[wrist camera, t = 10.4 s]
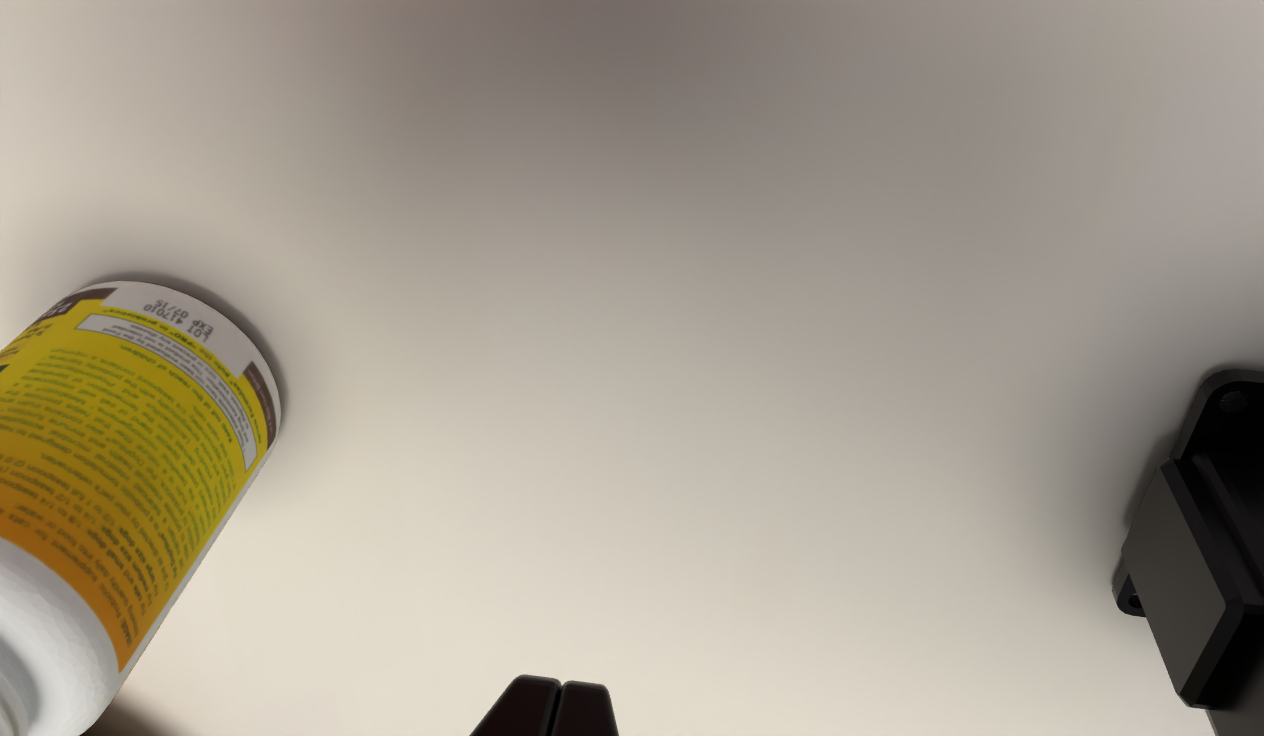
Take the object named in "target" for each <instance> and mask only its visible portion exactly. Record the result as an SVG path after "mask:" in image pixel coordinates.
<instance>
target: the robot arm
mask: <svg viewBox="0 0 1264 736" xmlns="http://www.w3.org/2000/svg"><path fill="white" fill-rule="evenodd" d="M1235 391H1240V392H1239V394H1238V395H1237V396H1236V397H1234V398H1232V399H1230V400H1225V401H1221V399H1222V398H1223V397H1224V395H1226V394H1228V393H1230V392H1235ZM1121 553H1122V556H1123V559H1124V560H1123V563H1122V565H1121V567H1120V569H1119V572H1118V574H1117V576H1116V578H1115V581H1114V583H1113V586H1112V593H1113V595H1114V598H1115V601H1116V603H1117V606H1118V608H1119V609H1120V610H1121V611H1122V612H1124V613H1125V614H1129V615H1132V616H1140V617H1147V620H1148V623H1149V625H1150V628H1151V630H1152V633H1153V635H1154V638H1155V640H1156V643H1157V646H1158V648H1159V651H1160V653H1161V656H1162V658H1163V661H1164V663H1165V666H1166V668H1167V671H1168V674H1169V676H1170V679H1171V681H1172V684H1173V686H1174V689H1175V691H1176V693H1177V695H1178V696H1179V697H1180V699H1181V700H1182V701H1183V702H1184V703H1185V705H1186V706H1188V707H1192V708H1200V709H1205V711H1206V713H1207V716H1208V718H1209V721H1210V723H1211V725H1212V728H1213V730H1214V733H1215V735H1216V736H1264V372H1259V371H1249V370H1239V369H1230V370H1223V371H1220V372H1217V373H1215V374H1213V375H1212V376H1210V377H1209V378H1208V379H1206V380H1205V382H1204V383H1203V384H1202V386H1201V387H1200V389H1199V392H1198V394H1197V396H1196V398H1195V401H1194V403H1193V405H1192V407H1191V410H1190V412H1189V414H1188V416H1187V419H1186V421H1185V423H1184V425H1183V428H1182V430H1181V432H1180V434H1179V437H1178V439H1177V441H1176V443H1175V446H1174V448H1173V450H1172V452H1171V455H1170V457H1169V459H1166V460H1165V461H1164V462H1163V463H1162V464H1161V465H1160V466H1158V468H1157V469H1156V471H1155V474H1154V476H1153V478H1152V481H1151V483H1150V485H1149V487H1148V490H1147V492H1146V494H1145V497H1144V499H1143V501H1142V503H1141V506H1140V508H1139V510H1138V512H1137V515H1136V517H1135V519H1134V522H1133V524H1132V526H1131V528H1130V531H1129V533H1128V535H1127V538H1126V540H1125V542H1124V544H1123V547H1122V550H1121ZM1136 593H1137V595H1133V594H1136ZM470 736H619V734H618V729H617V725H616V721H615V716H614V712H613V707H612V703H611V699H610V695H609V691H608V689H607V688H606V687H605V686H604V685H602V684H595V683H587V682H580V681H572V680H571V681H567V682H565V683H564V684H563V686H562V685H561V682H560V681H559V680H558V679H555V678H549V677H541V676H533V675H520V676H518V677H516V678H515V679H514V680H513V681H512V682H511V683H510V685H509V686H508V687H507V688H506V690H505V691H504V692H503V693H502V695H501V696H500V697H499V699H498V700H497V701H496V702H495V704H494V705H493V706H492V708H491V709H490V710H489V711H488V713H487V714H486V715H485V716H484V718H483V719H482V720H481V722H480V723H479V724H478V725H477V727H476V728H475V729H474V731H473V732H472V733H471V734H470Z"/></svg>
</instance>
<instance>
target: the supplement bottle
mask: <svg viewBox="0 0 1264 736" xmlns="http://www.w3.org/2000/svg"><path fill="white" fill-rule="evenodd" d="M280 419H281V408H280V400H279V395H278V390H277V387H276V384H275V381H274V378H273V376H272V373H271V371H270V369H269V367H268V365H267V363H266V362H265V360H264V358H263V357H262V355H261V353H260V352H259V351H258V349H257V348H256V347H255V345H254V344H253V343H252V342H251V341H250V339H249V338H248V337H247V336H246V335H245V334H244V333H243V332H242V331H241V330H240V329H239V328H238V327H236V326H235V325H234V324H233V323H232V322H231V321H230V320H228V319H227V318H226V317H224V316H223V315H222V314H220V313H219V312H218V311H216V310H215V309H213V308H211V307H210V306H208V305H206V304H204V303H203V302H201V301H199V300H197V299H195V298H193V297H191V296H189V295H187V294H184V293H181V292H178V291H176V290H173V289H170V288H167V287H163V286H159V285H155V284H150V283H143V282H134V281H114V282H105V283H100V284H96V285H91V286H88V287H85V288H83V289H80V290H78V291H76V292H74V293H72V294H70V295H68V296H67V297H65V298H63V299H62V300H61V301H59V302H58V303H57V304H56V305H54V306H53V307H52V308H51V309H50V310H48V311H47V312H46V313H45V314H43V315H42V316H41V317H40V318H39V319H38V320H36V321H35V322H34V323H33V324H32V325H30V326H29V327H28V328H27V329H26V330H25V331H24V332H23V333H22V334H20V335H19V336H18V337H17V338H16V339H15V340H13V341H12V342H11V343H10V344H9V345H8V346H7V347H5V348H4V349H3V350H2V351H1V352H0V736H79V735H81V734H82V733H84V732H85V731H86V730H87V729H88V728H89V727H91V726H92V725H93V724H94V723H95V722H96V720H97V719H98V718H99V717H100V716H101V714H102V713H103V712H104V710H105V709H106V708H107V706H108V705H109V704H110V703H111V701H112V700H113V698H114V697H115V695H116V694H117V692H118V691H119V689H120V688H121V686H122V685H123V683H124V681H125V680H126V678H127V677H128V675H129V674H130V672H131V671H132V669H133V667H134V666H135V664H136V663H137V661H138V660H139V658H140V657H141V655H142V654H143V652H144V650H145V649H146V647H147V646H148V644H149V643H150V641H151V640H152V638H153V636H154V635H155V633H156V632H157V630H158V629H159V627H160V625H161V624H162V622H163V621H164V619H165V617H166V616H167V614H168V613H169V611H170V609H171V608H172V606H173V605H174V603H175V602H176V600H177V599H178V597H179V596H180V594H181V593H182V591H183V590H184V588H185V587H186V585H187V584H188V582H189V581H190V579H191V578H192V576H193V574H194V573H195V571H196V570H197V568H198V567H199V565H200V564H201V562H202V560H203V559H204V557H205V556H206V554H207V553H208V551H209V549H210V548H211V546H212V545H213V543H214V542H215V540H216V539H217V537H218V535H219V534H220V532H221V531H222V529H223V528H224V526H225V525H226V523H227V521H228V520H229V518H230V517H231V515H232V514H233V512H234V510H235V509H236V507H237V506H238V504H239V503H240V501H241V500H242V498H243V496H244V495H245V493H246V492H247V490H248V489H249V487H250V485H251V484H252V482H253V481H254V479H255V478H256V476H257V474H258V473H259V471H260V469H261V468H262V466H263V465H264V464H265V462H266V460H267V459H268V457H269V455H270V453H271V451H272V449H273V447H274V445H275V443H276V440H277V436H278V433H279V428H280Z"/></svg>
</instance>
